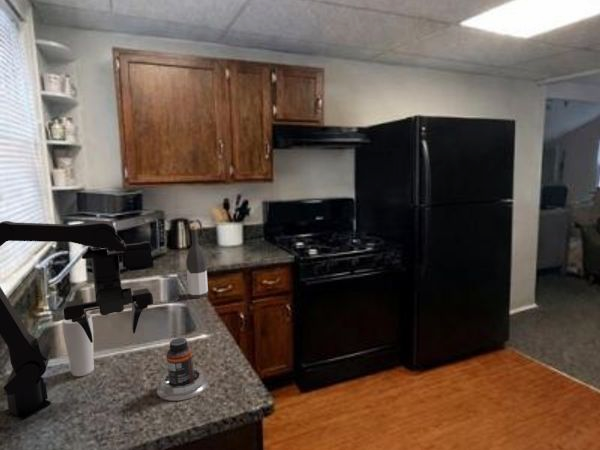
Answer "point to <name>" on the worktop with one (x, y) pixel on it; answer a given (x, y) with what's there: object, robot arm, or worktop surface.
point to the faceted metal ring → (182, 388)
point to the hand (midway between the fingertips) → (113, 337)
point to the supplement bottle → (180, 363)
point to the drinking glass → (79, 347)
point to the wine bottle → (196, 268)
